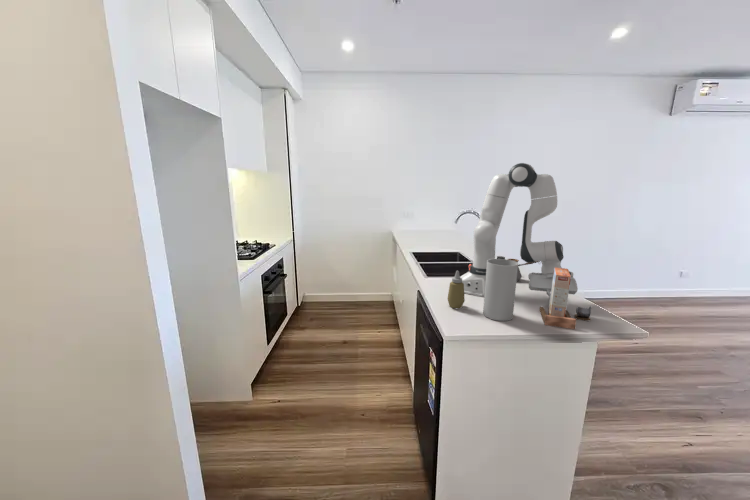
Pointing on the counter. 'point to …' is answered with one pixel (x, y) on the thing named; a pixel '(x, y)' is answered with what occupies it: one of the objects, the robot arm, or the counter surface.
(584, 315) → the winch drum
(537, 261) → the coffee pot
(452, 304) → the squeeze bottle
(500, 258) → the supplement bottle
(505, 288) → the cylinder vase
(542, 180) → the robot arm
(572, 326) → the bay
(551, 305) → the cracker box
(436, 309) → the counter surface
